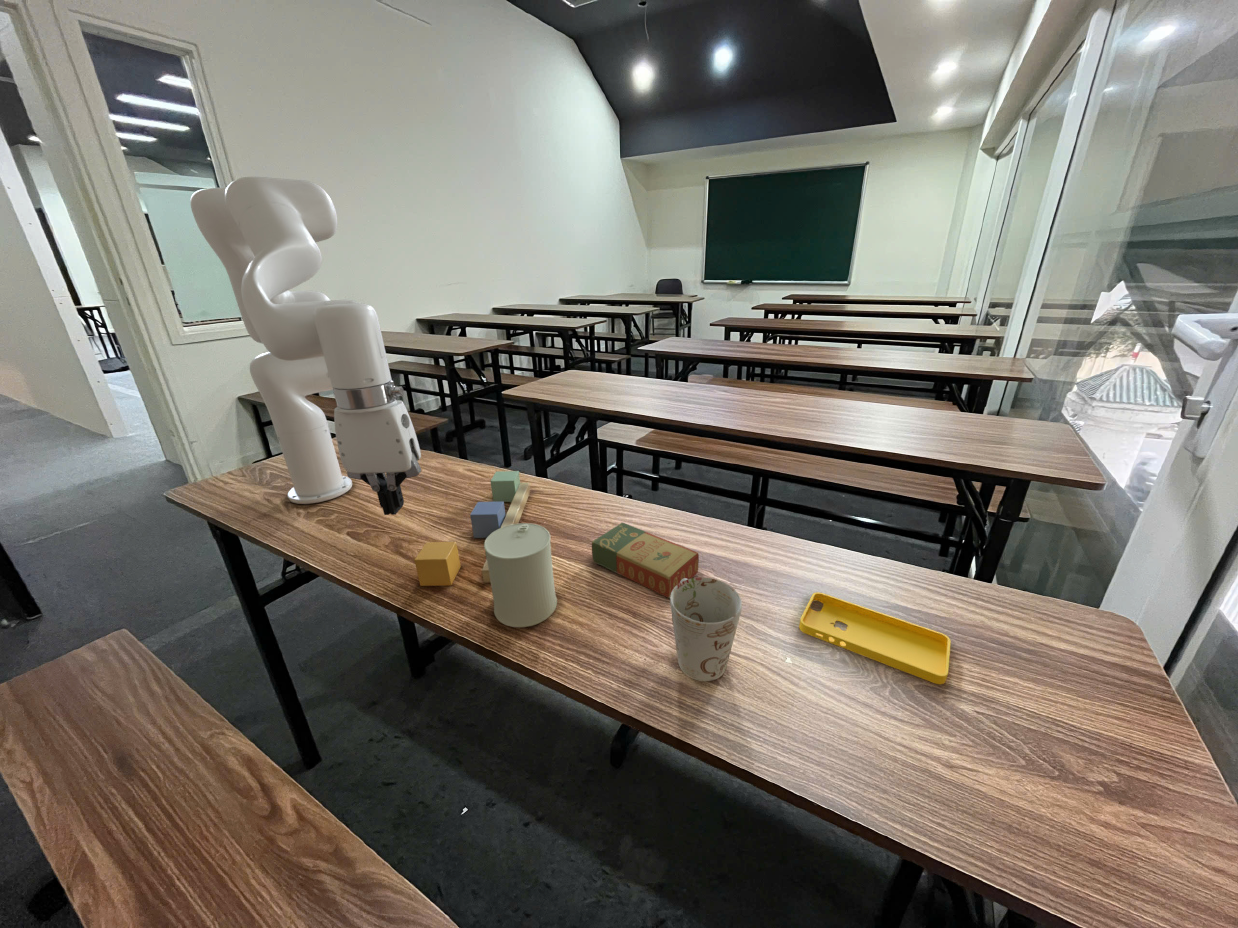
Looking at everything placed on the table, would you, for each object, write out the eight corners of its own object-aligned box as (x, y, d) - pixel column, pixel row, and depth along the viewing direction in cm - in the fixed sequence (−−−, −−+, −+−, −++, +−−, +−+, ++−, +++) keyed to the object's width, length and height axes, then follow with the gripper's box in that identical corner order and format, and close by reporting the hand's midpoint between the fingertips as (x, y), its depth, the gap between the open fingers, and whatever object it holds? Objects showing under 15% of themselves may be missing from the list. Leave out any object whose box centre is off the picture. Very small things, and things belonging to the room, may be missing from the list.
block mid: (473, 538, 89) (469, 514, 87) (481, 524, 93) (477, 501, 91) (500, 537, 89) (497, 514, 87) (506, 524, 93) (503, 501, 91)
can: (562, 587, 75) (556, 520, 70) (549, 629, 66) (541, 557, 62) (505, 584, 76) (495, 518, 71) (485, 626, 67) (472, 554, 62)
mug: (684, 697, 56) (687, 630, 52) (648, 624, 67) (648, 565, 63) (748, 679, 58) (755, 614, 54) (703, 612, 69) (706, 553, 65)
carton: (669, 600, 71) (669, 576, 70) (591, 561, 81) (589, 540, 79) (698, 573, 77) (699, 551, 75) (622, 540, 87) (621, 519, 85)
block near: (420, 586, 76) (414, 559, 74) (431, 567, 81) (425, 542, 79) (451, 585, 76) (446, 559, 74) (461, 566, 81) (456, 541, 79)
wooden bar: (521, 492, 106) (520, 482, 105) (530, 492, 106) (529, 482, 105) (483, 582, 76) (481, 570, 75) (496, 582, 76) (494, 570, 75)
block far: (493, 502, 102) (490, 481, 100) (498, 491, 106) (495, 471, 104) (516, 501, 102) (514, 480, 100) (521, 491, 106) (518, 470, 104)
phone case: (945, 687, 56) (947, 679, 55) (797, 630, 65) (798, 622, 64) (948, 643, 62) (951, 635, 62) (813, 597, 71) (814, 590, 71)
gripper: (428, 387, 71) (449, 498, 78) (327, 391, 71) (358, 501, 78) (408, 401, 64) (433, 521, 71) (296, 405, 64) (333, 524, 71)
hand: (394, 510), depth 75 cm, fingers closed
